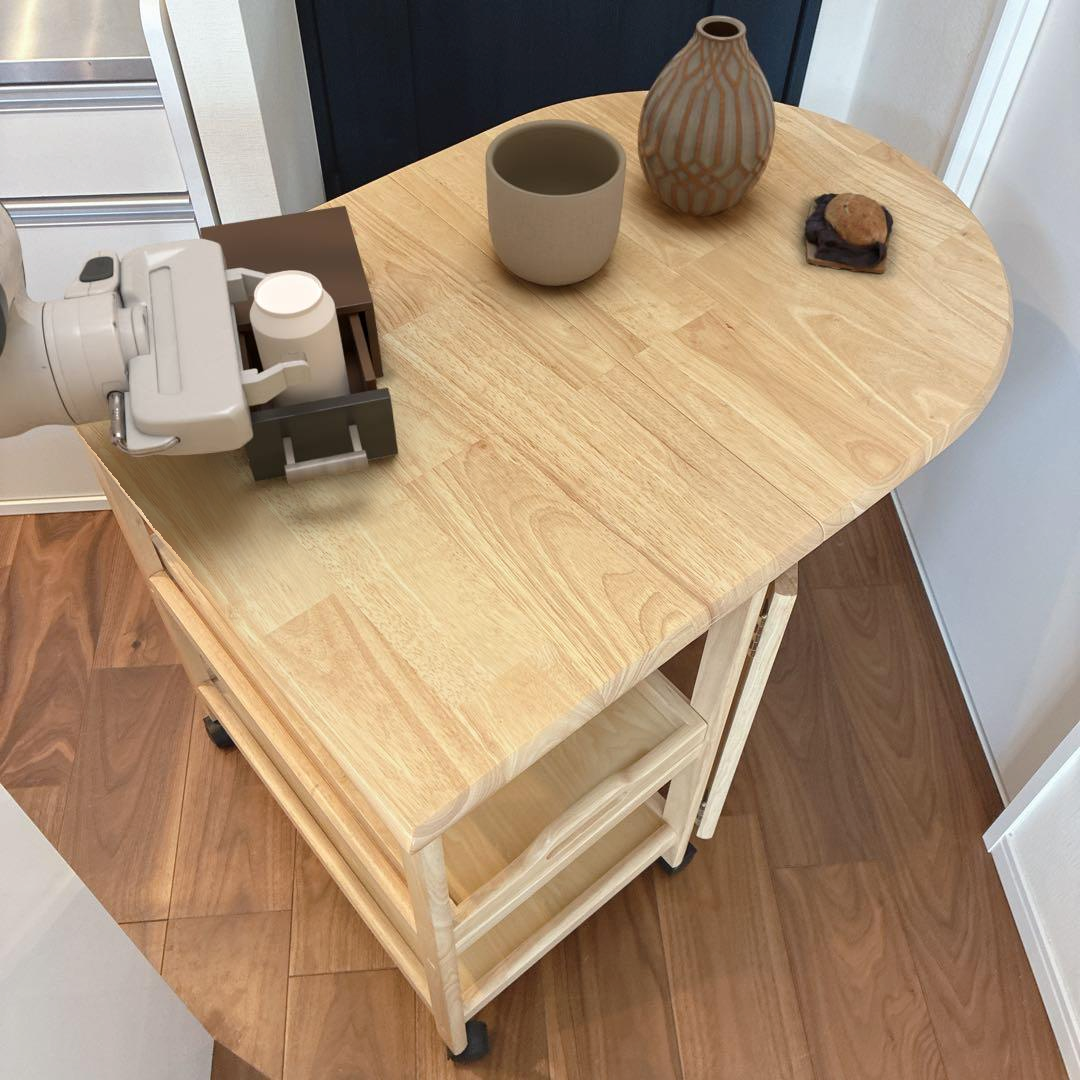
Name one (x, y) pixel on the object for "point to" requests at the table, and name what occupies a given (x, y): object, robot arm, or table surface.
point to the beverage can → (299, 334)
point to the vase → (707, 122)
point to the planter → (554, 199)
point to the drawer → (322, 420)
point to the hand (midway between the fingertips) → (300, 324)
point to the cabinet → (303, 261)
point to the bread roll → (848, 232)
